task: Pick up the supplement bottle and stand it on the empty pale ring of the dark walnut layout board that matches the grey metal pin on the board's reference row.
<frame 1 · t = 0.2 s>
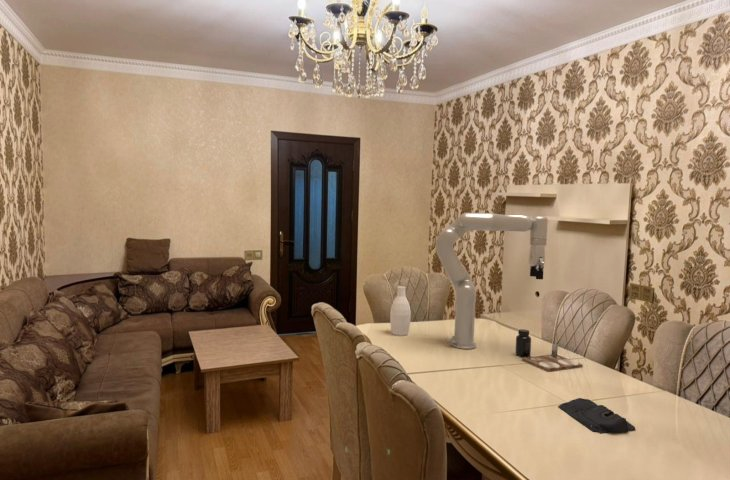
hand: (536, 277, 231), 36 cm above the table, tool pointing down, fingers open, 9 cm apart
supplement bottle: (522, 355, 227), on the table
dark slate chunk: (594, 420, 159), on the table
bottle: (399, 334, 259), on the table
layout board: (551, 363, 216), on the table
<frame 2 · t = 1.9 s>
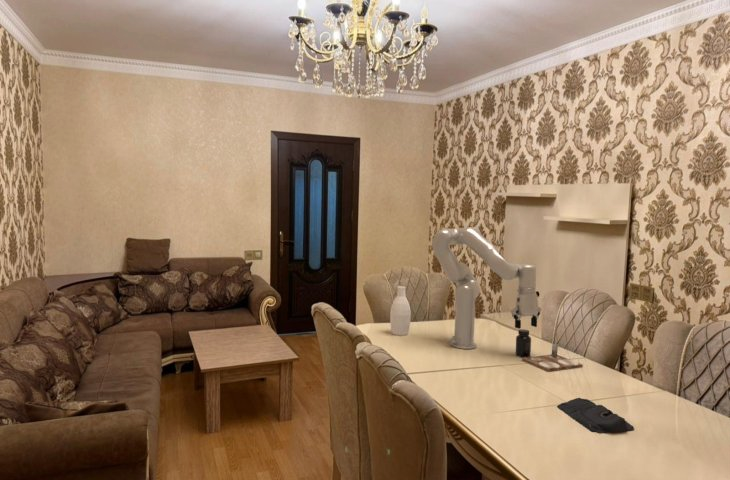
hand: (525, 327, 226), 14 cm above the table, tool pointing down, fingers open, 9 cm apart
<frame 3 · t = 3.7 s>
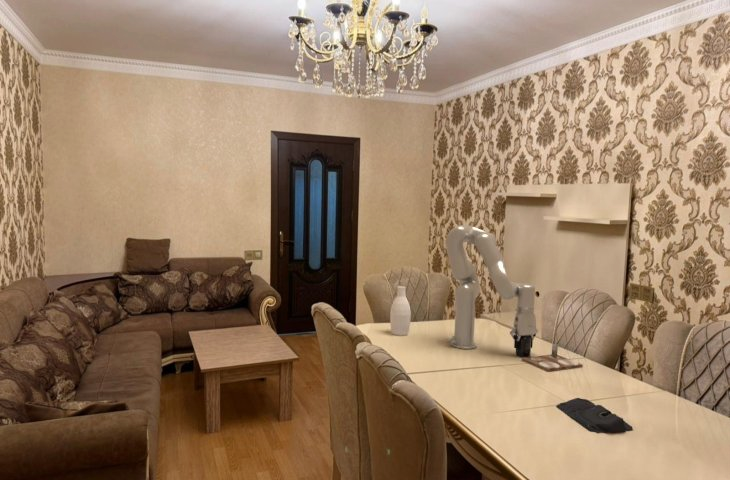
hand: (523, 347, 227), 4 cm above the table, tool pointing down, fingers closed on supplement bottle, 6 cm apart
supplement bottle: (522, 355, 227), on the table, touching gripper
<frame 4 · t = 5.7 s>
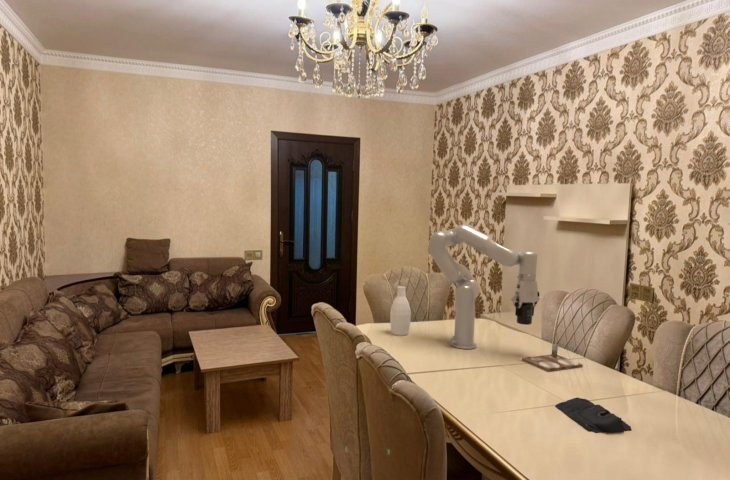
hand: (524, 315, 226), 19 cm above the table, tool pointing down, fingers closed on supplement bottle, 6 cm apart
supplement bottle: (523, 323, 226), point 15 cm above the table, touching gripper
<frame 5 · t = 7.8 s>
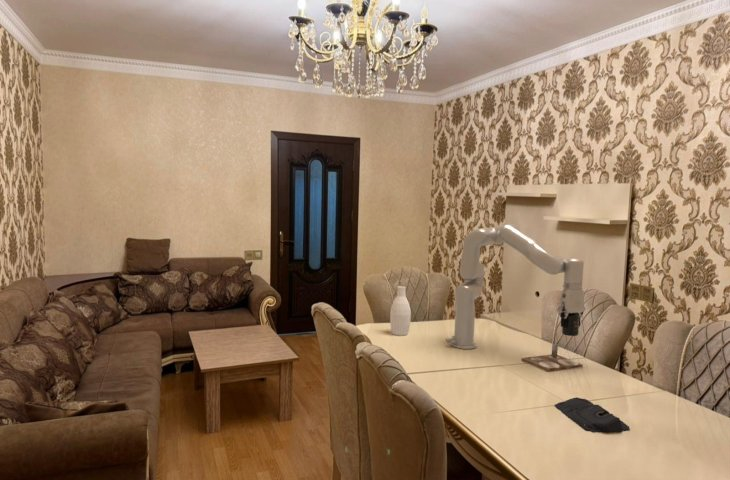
hand: (570, 326, 213), 18 cm above the table, tool pointing down, fingers closed on supplement bottle, 6 cm apart
supplement bottle: (569, 334, 213), point 14 cm above the table, touching gripper
when the fingers open (6 cm above the table, at t = 10.6 s): supplement bottle drops 1 cm, resting on layout board.
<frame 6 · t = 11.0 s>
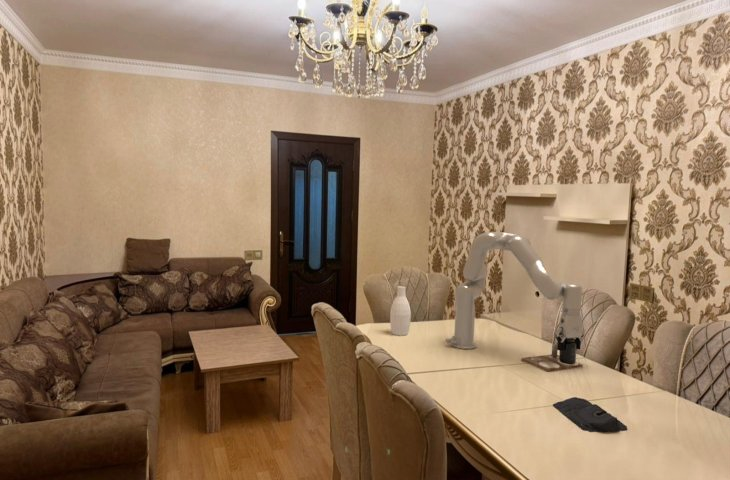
hand: (568, 349, 214), 7 cm above the table, tool pointing down, fingers open, 9 cm apart
supplement bottle: (567, 362, 214), point 1 cm above the table, touching layout board
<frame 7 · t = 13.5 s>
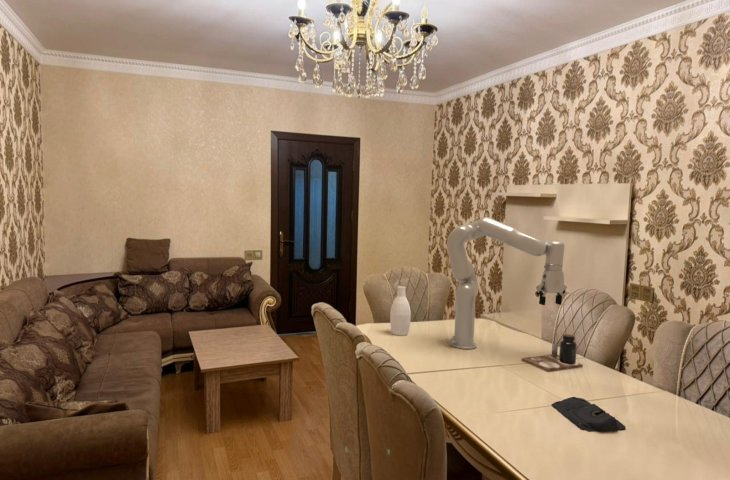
hand: (550, 304, 224), 25 cm above the table, tool pointing down, fingers open, 9 cm apart
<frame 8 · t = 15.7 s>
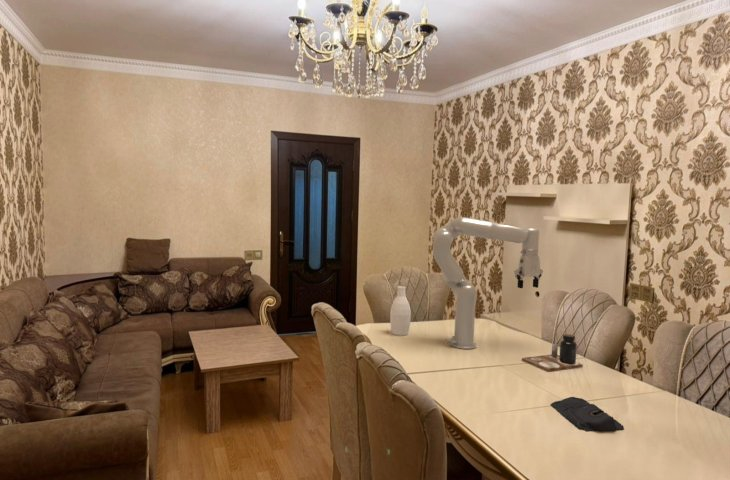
hand: (527, 287, 238), 30 cm above the table, tool pointing down, fingers open, 9 cm apart
at the end: supplement bottle 0.3 cm from the target spot on the layout board, point 1.2 cm above the layout board's base; supplement bottle tilted 1°; the gripper is holding nothing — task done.
